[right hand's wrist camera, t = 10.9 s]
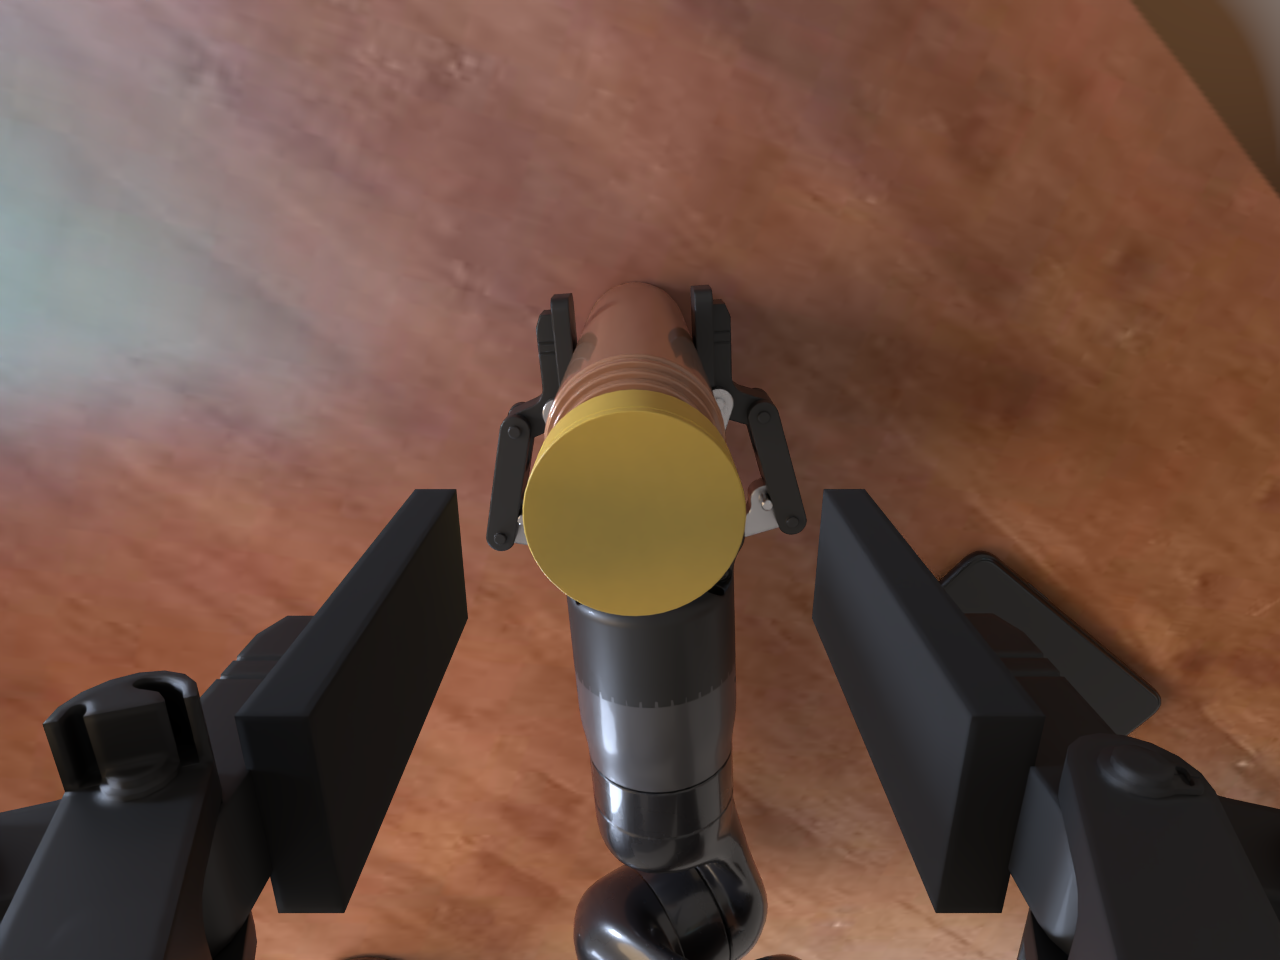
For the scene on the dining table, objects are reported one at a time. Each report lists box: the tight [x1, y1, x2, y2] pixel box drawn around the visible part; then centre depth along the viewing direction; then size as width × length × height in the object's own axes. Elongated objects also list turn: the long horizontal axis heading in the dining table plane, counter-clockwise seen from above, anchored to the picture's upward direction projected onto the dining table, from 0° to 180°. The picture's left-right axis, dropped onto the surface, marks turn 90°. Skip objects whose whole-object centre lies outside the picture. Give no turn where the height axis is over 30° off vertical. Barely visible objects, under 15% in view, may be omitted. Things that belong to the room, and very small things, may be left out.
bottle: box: [544, 282, 726, 443], centre depth 26 cm, size 5×5×22 cm
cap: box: [523, 389, 746, 616], centre depth 16 cm, size 4×4×2 cm
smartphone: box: [939, 551, 1161, 736], centre depth 42 cm, size 8×1×16 cm
